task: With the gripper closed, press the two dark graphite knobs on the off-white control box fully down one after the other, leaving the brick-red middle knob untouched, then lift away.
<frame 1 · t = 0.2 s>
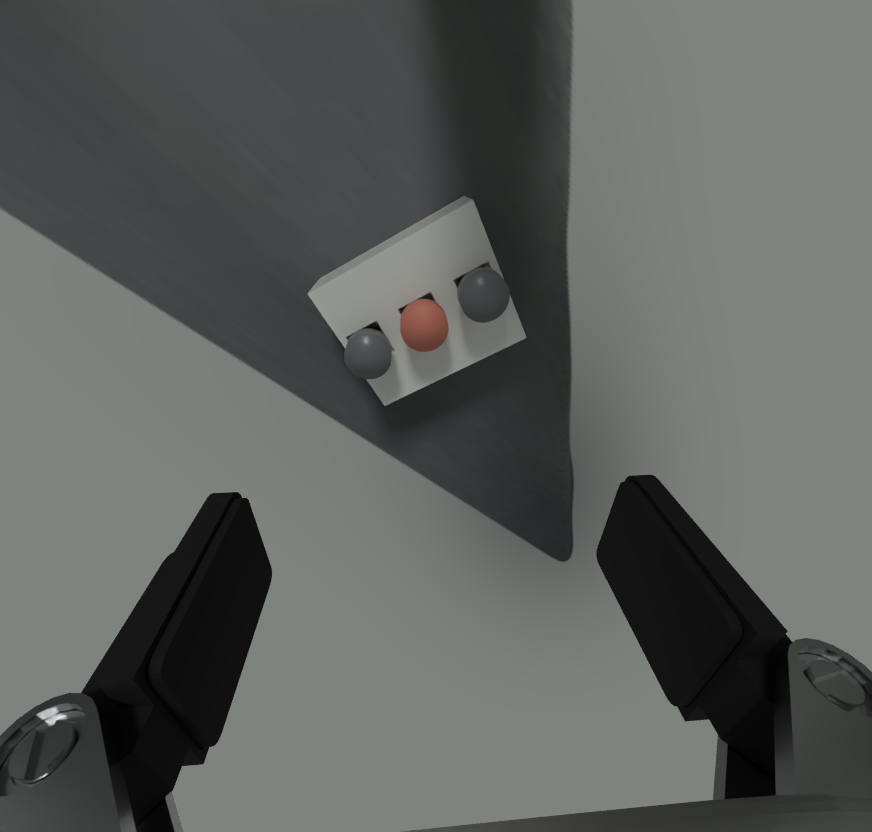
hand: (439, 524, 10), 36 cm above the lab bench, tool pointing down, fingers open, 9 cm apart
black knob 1: (479, 290, 36), point 7 cm above the lab bench, slide at 0.0 cm
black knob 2: (369, 347, 38), point 7 cm above the lab bench, slide at 0.0 cm
control box: (420, 299, 43), on the lab bench
red knob: (423, 319, 37), point 7 cm above the lab bench, slide at 0.0 cm
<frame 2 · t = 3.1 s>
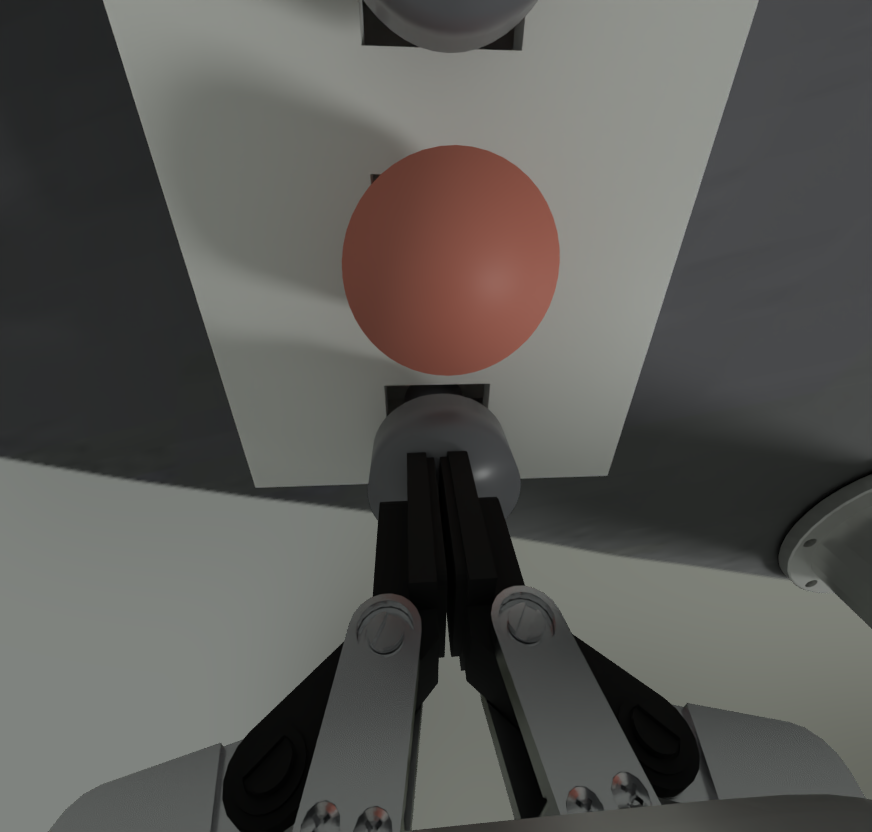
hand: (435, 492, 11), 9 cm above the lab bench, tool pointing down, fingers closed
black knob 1: (438, 439, 13), point 7 cm above the lab bench, slide at 0.1 cm, touching gripper
control box: (429, 228, 16), on the lab bench
red knob: (441, 255, 10), point 7 cm above the lab bench, slide at 0.0 cm
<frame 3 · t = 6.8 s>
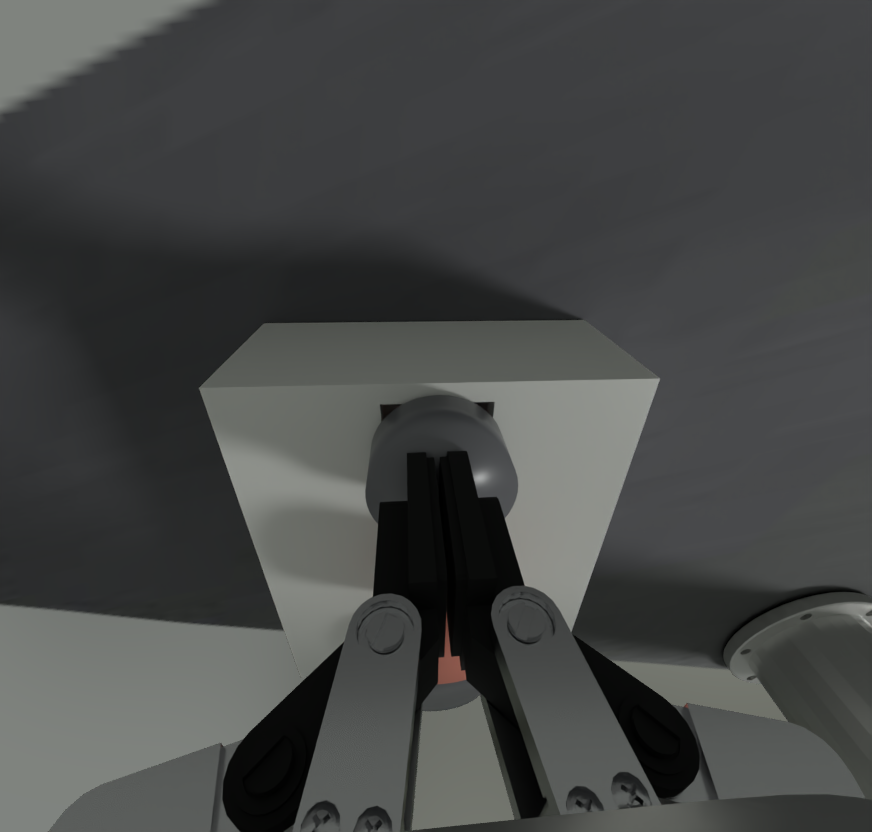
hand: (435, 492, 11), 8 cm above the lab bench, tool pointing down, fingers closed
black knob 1: (433, 629, 20), point 5 cm above the lab bench, slide at 1.4 cm
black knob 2: (436, 440, 13), point 5 cm above the lab bench, slide at 1.3 cm, touching gripper
control box: (428, 472, 21), on the lab bench
red knob: (436, 581, 15), point 7 cm above the lab bench, slide at 0.0 cm
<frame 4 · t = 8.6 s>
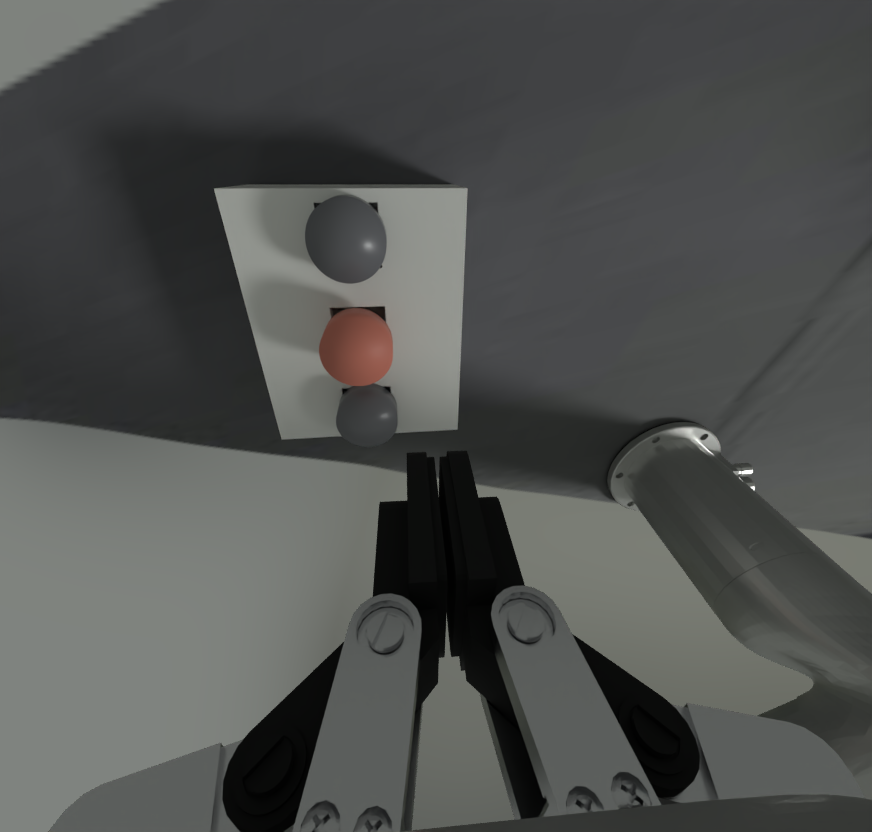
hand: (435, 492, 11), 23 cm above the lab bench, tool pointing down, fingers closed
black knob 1: (368, 403, 30), point 5 cm above the lab bench, slide at 1.4 cm
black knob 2: (350, 235, 23), point 5 cm above the lab bench, slide at 1.4 cm
control box: (364, 306, 31), on the lab bench
red knob: (359, 337, 25), point 7 cm above the lab bench, slide at 0.0 cm
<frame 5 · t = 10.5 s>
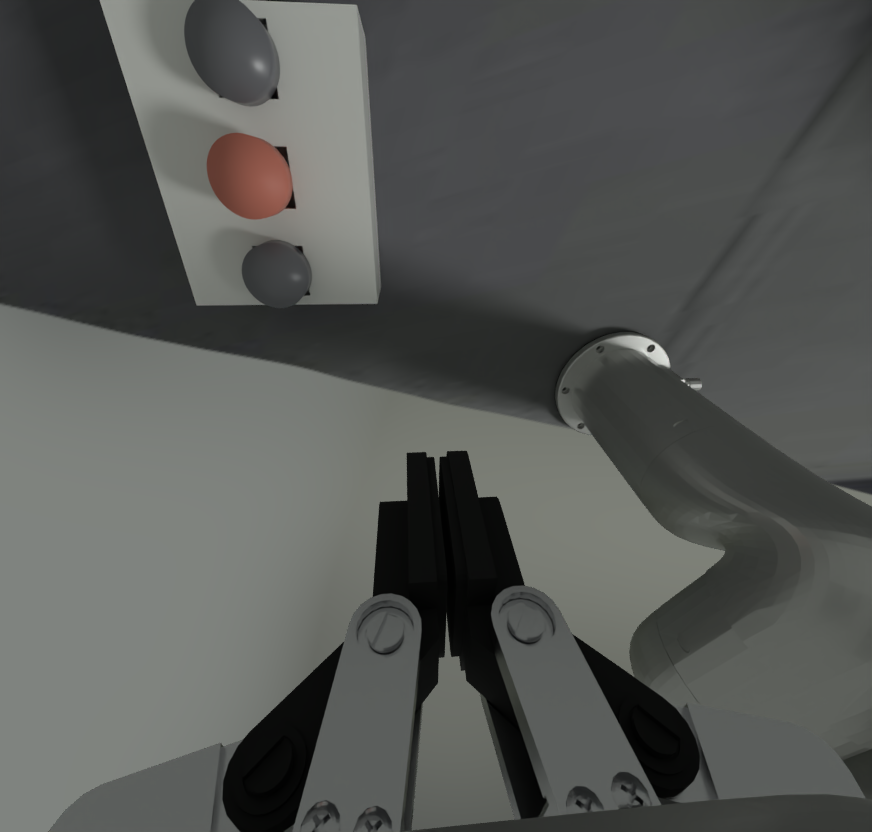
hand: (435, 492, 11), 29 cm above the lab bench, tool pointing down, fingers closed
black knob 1: (284, 269, 30), point 5 cm above the lab bench, slide at 1.4 cm
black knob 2: (245, 62, 23), point 5 cm above the lab bench, slide at 1.4 cm
control box: (287, 178, 31), on the lab bench
red knob: (260, 178, 25), point 7 cm above the lab bench, slide at 0.0 cm
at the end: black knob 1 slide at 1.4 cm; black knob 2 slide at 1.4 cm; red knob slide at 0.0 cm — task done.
